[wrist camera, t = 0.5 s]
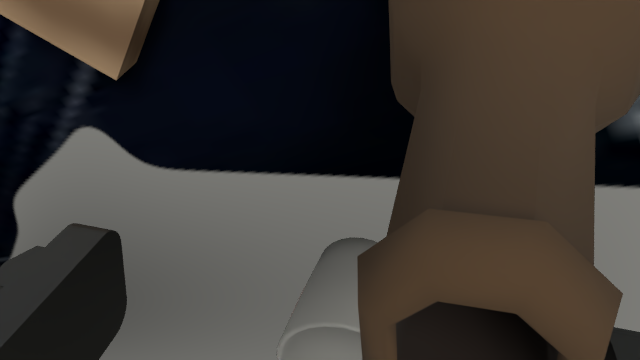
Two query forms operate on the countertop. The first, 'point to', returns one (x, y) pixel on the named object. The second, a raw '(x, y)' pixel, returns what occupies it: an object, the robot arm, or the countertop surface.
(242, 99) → the countertop surface
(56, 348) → the robot arm
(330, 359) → the cup
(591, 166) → the beer bottle
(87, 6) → the cabinet with open drawer
